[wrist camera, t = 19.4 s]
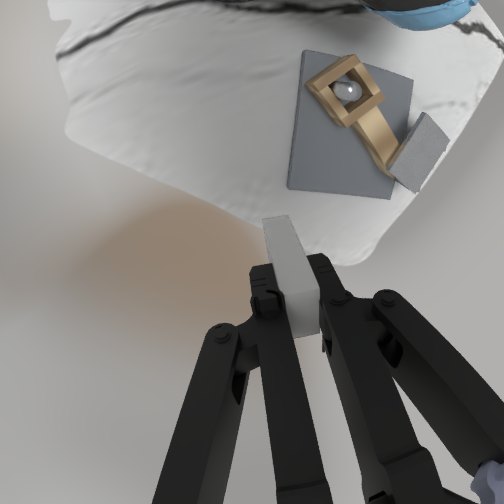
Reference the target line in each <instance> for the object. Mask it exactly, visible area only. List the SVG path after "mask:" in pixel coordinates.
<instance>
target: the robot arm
mask: <svg viewBox="0 0 504 504" xmlns="http://www.w3.org/2000/svg"><path fill="white" fill-rule="evenodd" d="M218 1H224V2H246V1H252V0H218ZM357 1H358V2H360V3H362V4H363V6H364V7H365V8H367V9H368V10H370V11H372V12H375V13H378V14H379V15H381V16H383V17H384V18H386V19H387V20H388V21H390V22H391V23H393V24H394V25H396V26H398V27H401V28H404V29H409V30H413V31H427V30H433V29H437V28H441V27H444V26H447V25H449V24H452V23H454V22H456V21H458V20H459V19H461V18H462V17H464V16H465V15H467V14H468V13H469V12H470V11H471V10H470V6H475V5H476V4H477V2H478V0H357ZM262 221H263V227H264V233H265V239H266V245H267V251H268V258H269V262H270V263H269V264H264V265H259V266H253V267H252V269H251V271H250V273H249V276H250V284H251V292H252V297H251V300H250V303H251V307H252V312H253V314H252V316H251V317H250V318H249V319H248V320H247V321H246V322H244V323H242V324H240V325H238V326H236V327H235V326H234V325H232V324H229V323H221V324H217V325H215V326H213V327H212V328H211V329H209V330H208V332H207V334H206V336H205V340H204V342H203V345H202V348H201V351H200V354H199V357H198V360H197V363H196V366H195V369H194V372H193V375H192V378H191V381H190V384H189V387H188V390H187V393H186V396H185V399H184V402H183V405H182V408H181V411H180V415H179V418H178V421H177V424H176V427H175V430H174V433H173V437H172V440H171V443H170V446H169V449H168V452H167V455H166V459H165V462H164V465H163V468H162V471H161V475H160V478H159V481H158V485H157V488H156V491H155V494H154V498H153V501H152V504H223V500H224V496H225V492H226V487H227V482H228V478H229V473H230V469H231V464H232V459H233V454H234V449H235V444H236V440H237V435H238V430H239V425H240V420H241V415H242V410H243V405H244V400H245V395H246V390H247V385H248V380H249V374H250V371H251V370H253V369H255V368H257V367H259V366H260V368H261V377H262V385H263V392H264V400H265V406H266V414H267V422H268V429H269V437H270V444H271V451H272V458H273V465H274V473H275V480H276V496H277V504H333V501H332V496H331V492H330V487H329V484H328V482H327V479H326V477H325V473H324V468H323V464H322V459H321V455H320V450H319V446H318V441H317V437H316V432H315V428H314V424H313V420H312V415H311V411H310V406H309V402H308V398H307V393H306V389H305V385H304V381H303V377H302V372H301V368H300V364H299V360H298V356H297V352H296V348H295V344H294V340H293V339H295V338H299V337H304V336H309V335H314V334H318V333H320V328H321V331H322V334H323V335H322V338H323V339H322V352H325V351H326V354H327V357H328V361H329V363H330V367H331V370H332V373H333V377H334V380H335V383H336V386H337V390H338V393H339V396H340V400H341V403H342V406H343V410H344V413H345V417H346V420H347V424H348V427H349V431H350V434H351V438H352V441H353V445H354V449H355V452H356V456H357V459H358V463H359V467H360V471H361V475H362V491H363V495H364V500H365V504H478V503H475V502H473V501H471V500H469V499H466V498H464V497H462V496H460V495H458V494H456V493H454V492H452V491H450V490H448V489H446V488H443V487H442V484H441V481H440V478H439V475H438V472H437V469H436V466H435V463H434V460H433V458H432V456H431V454H430V452H429V451H428V450H427V448H425V447H422V446H421V445H420V444H419V442H418V440H417V437H416V435H415V432H414V429H413V427H412V424H411V421H410V419H409V416H408V414H407V411H406V409H405V407H404V404H403V402H402V399H401V397H400V394H399V392H398V390H397V387H396V385H395V383H394V380H393V378H394V379H395V381H396V382H397V383H398V385H399V386H400V387H401V388H402V390H403V391H404V392H405V393H406V395H407V396H408V397H409V399H410V400H411V401H412V403H413V404H414V405H415V407H416V408H417V409H418V410H419V412H420V413H421V414H422V416H423V417H424V418H425V420H426V421H427V422H428V423H429V425H430V426H431V428H432V429H433V430H434V432H435V433H436V434H437V436H438V437H439V438H440V440H441V441H442V442H443V444H444V445H445V447H446V448H447V449H448V451H449V452H450V453H451V455H452V456H453V457H454V459H455V460H456V461H457V463H458V464H459V465H460V466H461V467H462V468H463V469H464V470H465V471H466V472H467V473H468V474H470V475H471V476H473V477H474V480H473V481H472V483H471V490H472V491H473V492H475V493H476V494H477V495H478V496H479V498H480V501H481V504H504V402H503V401H502V400H501V399H500V398H499V396H498V395H497V394H496V393H495V392H494V391H493V389H491V387H490V386H489V385H488V384H487V383H486V381H485V380H484V379H483V378H482V377H481V376H480V375H479V374H478V372H477V371H476V370H475V369H474V368H473V367H472V366H471V365H470V364H469V363H468V362H467V361H466V359H465V358H464V357H463V356H462V355H461V354H460V353H459V352H458V351H457V350H456V349H455V348H454V347H453V346H452V345H451V344H450V343H449V342H448V341H447V340H446V339H445V338H444V337H443V336H442V335H441V334H440V332H438V330H437V329H435V328H434V327H433V326H432V325H431V324H430V323H429V322H428V321H427V320H426V319H425V318H424V317H423V316H422V315H421V314H420V313H419V312H418V311H417V310H416V309H415V308H414V307H413V306H412V305H411V304H410V303H409V302H408V301H407V300H406V299H404V298H403V297H402V296H401V295H400V294H399V293H397V292H396V291H393V290H390V289H384V290H380V291H378V292H377V293H376V294H375V295H374V297H373V299H369V298H357V297H354V296H353V295H352V294H351V292H349V291H347V290H345V289H344V287H343V285H342V283H341V281H340V279H339V277H338V275H337V273H336V271H335V270H334V267H333V266H332V264H331V262H330V260H329V258H328V257H326V256H325V255H324V254H322V253H319V254H313V255H308V256H306V255H305V252H304V250H303V248H302V245H301V243H300V241H299V238H298V236H297V234H296V232H295V229H294V227H293V225H292V223H291V220H290V218H289V216H288V215H284V216H278V217H272V218H267V219H262ZM392 377H393V378H392Z"/></svg>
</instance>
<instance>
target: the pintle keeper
mask: <svg viewBox="0 0 504 504" xmlns="http://www.w3.org/2000/svg"><path fill="white" fill-rule="evenodd" d="M328 87H329V88H330V89H331V91H332V92H333V93H334V95H335V96H336V97H337V99H342V100H349V101H357V100H358V99H359V98H360V97H361V95H362V89H361V86H360V85H359V84H358V83H357V82H355V81H334V82H332V83H331V84H329V85H328ZM449 141H450V139H449V138H448V137H447V136H446V135H445V133H444V132H443V131H442V130H441V129H440V127H439V126H438V125H437V124H436V123H435V122H434V121H433V120H432V118H431V117H430V116H429V115H428V114H427V113H425V112H422V113H421V115H420V116H419V118H418V119H417V121H416V123H415V124H414V126H413V127H412V129H411V131H410V132H409V134H408V135H407V137H406V138H405V140H404V142H403V143H402V145H401V146H400V148H399V149H398V151H397V152H396V154H395V155H394V157H393V158H392V160H391V161H390V163H389V164H388V166H387V167H386V170H387V171H388V172H390V173H391V174H392V175H393V176H394V178H393V179H394V180H396V181H397V182H399V183H400V184H402V185H403V186H404V187H406V188H407V189H409V190H410V191H411V192H413V193H414V194H416V192H419V191H420V187H421V185H422V184H423V182H424V181H425V179H426V178H427V176H428V175H429V173H430V172H431V170H432V168H433V167H434V165H435V164H436V162H437V161H438V159H439V158H440V156H441V154H442V153H443V151H446V146H447V145H448V143H449Z"/></svg>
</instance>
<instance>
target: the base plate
mask: <svg viewBox="0 0 504 504" xmlns="http://www.w3.org/2000/svg"><path fill="white" fill-rule="evenodd" d="M340 58H341V57H338V56H334V55H330V54H325V53H320V52H315V51H310V50H304V51H303V55H302V64H301V74H300V83H299V92H298V101H297V110H296V118H295V127H294V135H293V143H292V151H291V159H290V167H289V174H288V182H287V187H288V189H289V190H301V191H313V192H325V193H335V194H345V195H354V196H363V197H372V198H380V199H387V200H390V198H391V195H392V191H393V187H394V183H395V180H394V179H392V178H391V177H389V176H388V175H386V174H385V173H383V172H382V171H380V170H379V168H378V166H377V165H376V163H375V161H374V160H373V158H372V156H371V155H370V153H369V152H368V150H367V149H366V147H365V145H364V144H363V142H362V141H361V139H360V138H359V136H358V135H357V133H356V132H355V130H354V129H353V127H352V126H351V125H350V126H349V127H348V128H345V127H343V126H340V125H338V124H335V122H334V121H333V119H332V118H331V117H330V115H329V114H328V113H327V112H326V110H325V109H324V108H323V106H322V105H321V104H320V102H319V101H318V100H317V99H316V97H315V96H314V95H313V94H312V93H311V91H310V90H309V89H308V88H307V86H306V85H305V84H304V83H306V82H307V81H308V80H310V79H311V78H312V77H314V76H315V75H317V74H318V73H319V72H321V71H322V70H324V69H325V68H326V67H328V66H329V65H331V64H332V63H334V62H335V61H337V60H338V59H340ZM362 64H363V65H364V67H365V68H366V70H367V71H368V73H369V74H370V75H371V77H372V78H373V80H374V81H375V83H376V84H377V86H378V87H379V89H380V91H381V92H382V94H383V95H384V97H385V98H386V99H385V100H383V101H382V102H381V103H379V104H378V105H377V107H378V109H379V110H380V112H381V114H382V115H383V117H384V119H385V120H386V122H387V124H388V125H389V127H390V129H391V130H392V132H393V134H394V136H395V138H396V139H397V141H398V143H399V145H400V146H401V145H402V143H403V142H404V138H405V133H406V127H407V122H408V116H409V110H410V103H411V96H412V89H413V81H414V80H412V79H410V78H407V77H404V76H402V75H399V74H396V73H393V72H390V71H387V70H384V69H381V68H378V67H375V66H372V65H368V64H365V63H362ZM335 81H351V80H350V79H349V78H348V76H347V75H346V74H343V75H342V76H341V77H339V78H338V79H336V80H335ZM338 100H339V101H340V103H341V104H342V105H343V106H344V105H346V104H347V103H348V102H350V101H349V100H342V99H338Z"/></svg>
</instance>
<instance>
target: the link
mask: <svg viewBox="0 0 504 504" xmlns="http://www.w3.org/2000/svg"><path fill="white" fill-rule="evenodd" d="M343 74H346V75H347V76H348V78H349V79H350V80H351V81H355V82H357V83H358V84H359V85H360V86H361V89H362V95H361V97H360V98H359V99H358V100H357V101H350V102H348V103H347V104H346V105H344V106H343V105H342V104H341V103H340V101H339V100H338V99H337V97H336V96H335V95H334V93H333V92H332V91H331V89H330V88H329V87H328V85H329V84H331V83H332V82H334V81H335V80H336V79H338V78H339V77H341V76H342V75H343ZM304 84H305V85H306V86H307V88H308V89H309V90H310V91H311V93H312V94H313V95H314V96H315V97H316V99H317V100H318V101H319V102H320V104H321V105H322V106H323V108H324V109H325V110H326V112H327V113H328V114H329V115H330V117H331V118H332V119H333V121H334V122H335V124H338V125H340V126H343V127H345V128H348V127H349V126H350V125H351V126H352V127H353V129H354V130H355V132H356V133H357V135H358V136H359V138H360V139H361V141H362V142H363V144H364V145H365V147H366V149H367V150H368V152H369V153H370V155H371V156H372V158H373V160H374V161H375V163H376V165H377V166H378V168H379V170H380V171H382V172H383V173H385V174H386V175H388V176H389V177H391V178H392V179H393V178H394V176H393V175H392V174H391V173H390V172H388V171H387V170H386V167H387V166H388V164H389V163H390V161H391V160H392V158H393V157H394V155H395V154H396V152H397V151H398V149H399V148H400V145H399V143H398V141H397V139H396V138H395V136H394V134H393V132H392V130H391V129H390V127H389V125H388V124H387V122H386V120H385V119H384V117H383V115H382V114H381V112H380V110H379V109H378V107H377V105H378V104H379V103H381V102H382V101H383V100H385V99H386V98H385V97H384V95H383V94H382V92H381V91H380V89H379V87H378V86H377V84H376V83H375V81H374V80H373V78H372V77H371V75H370V74H369V73H368V71H367V70H366V68H365V67H364V65H363V64H362V63H361V61H360V60H359V59H358V57H357V56H356V55H355V54H352V55H347V56H343V57H341V58H340V59H338V60H337V61H335V62H334V63H332V64H331V65H329V66H328V67H326V68H325V69H324V70H322V71H321V72H319V73H318V74H317V75H315V76H314V77H312V78H311V79H310V80H308V81H307V82H306V83H304Z"/></svg>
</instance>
